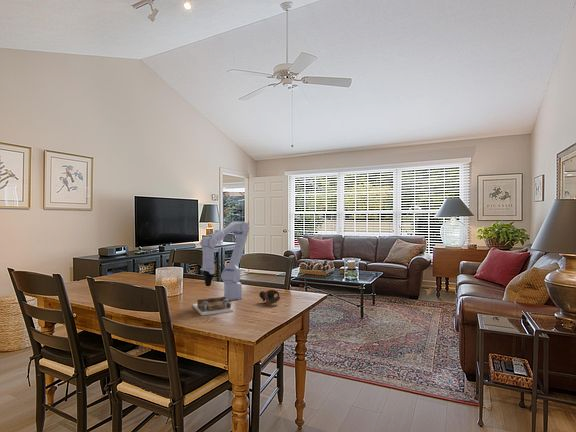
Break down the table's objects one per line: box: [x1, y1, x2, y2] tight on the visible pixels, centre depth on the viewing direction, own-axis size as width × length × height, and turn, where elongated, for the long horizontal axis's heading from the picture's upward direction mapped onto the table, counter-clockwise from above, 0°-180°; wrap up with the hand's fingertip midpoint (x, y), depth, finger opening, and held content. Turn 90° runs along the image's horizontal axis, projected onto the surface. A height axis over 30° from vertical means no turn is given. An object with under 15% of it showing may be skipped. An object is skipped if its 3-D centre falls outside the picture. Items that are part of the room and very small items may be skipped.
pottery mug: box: [259, 289, 281, 306], centre depth 179 cm, size 12×9×8 cm
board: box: [192, 299, 234, 316], centre depth 168 cm, size 15×18×5 cm
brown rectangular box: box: [196, 296, 232, 311], centre depth 165 cm, size 14×9×4 cm, turn 119°
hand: (208, 285), depth 175 cm, fingers closed
